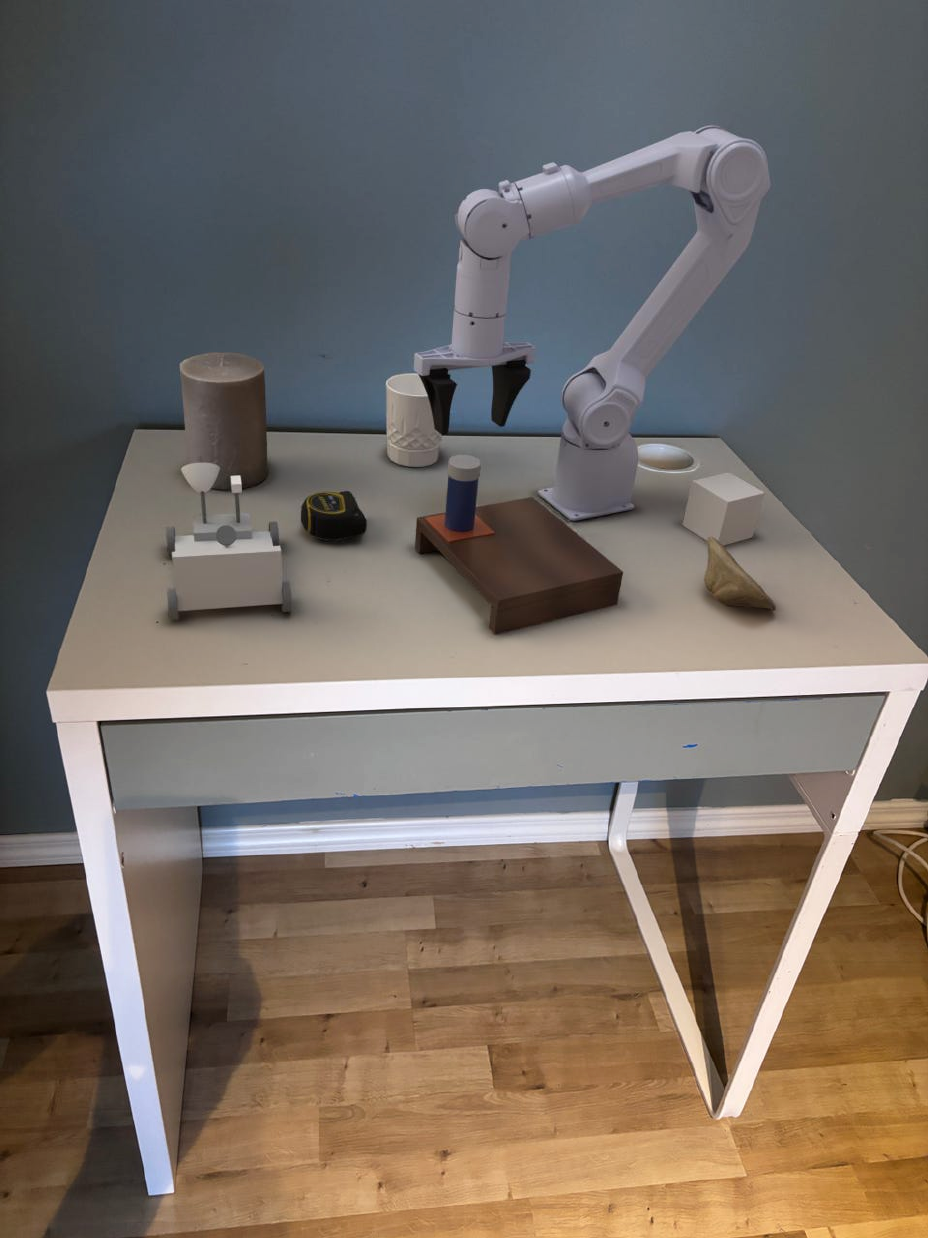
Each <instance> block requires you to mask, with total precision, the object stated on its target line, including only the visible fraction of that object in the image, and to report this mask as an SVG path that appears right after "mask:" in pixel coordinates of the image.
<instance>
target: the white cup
mask: <svg viewBox="0 0 928 1238" xmlns="http://www.w3.org/2000/svg"><path fill="white" fill-rule="evenodd" d="M385 423H386V438H387V441H386V443H387V444H386V445H387V448H386V451H387V454H386V455H387V457H388V458H389V460H390V461H391V462H393V463H394V464H396V465H399V466H403V467H409V468H424V467H428V466H431V465H433V464H436V462H438V459H439V456H440V447H441V442H442V440H443V439H442V438H443V435H441V434H440V433H439V432H438V431H436V430H435V429H434V422H433V415H432V410H431V406H430V402H429V399H428V396H427V393H426V390H425V388H424V385H423V383H422V381H421V379H420V377H419V375H418V373H401V374H395V375H393V376H391V377H389V378H388V379H386V381H385Z"/></svg>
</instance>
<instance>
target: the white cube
mask: <svg viewBox="0 0 928 1238" xmlns="http://www.w3.org/2000/svg"><path fill="white" fill-rule="evenodd" d="M765 494H766V493H765V492H764V491H762V490H761V489H759V488H757V487H755V486H753V485H752V484H750V483H748V482H747V481H745V480H743V479H742V478H740V477H737V476H736V475H734V474H733V473H731V472H729V471H728V472H723V473H720V474H715V475H711V476H706V477H701V478H697V479H694V480H692V481H691V486H690V490H689V494H688V499H687V503H686V507H685V512H684V516H683V520H682V526H683V527H685V528H686V529H688V530H689V531H691V532H692V533H693V534H695V535H697V536H699V537H700V538H701V539H703V540H705V541H706V542H707V539H708V537H710V536H711V537H714V538H715V539H716V540H718V541H719V543H721V544H722V545H723V546H727V545H730V544H734V543H737V542H740V541H745V540H748V539H751V538H753V536H754V533H755V529H756V527H757V524H758V523H757V522H758V518H759V515H760V512H761V508H762V505H763V501H764V497H765Z"/></svg>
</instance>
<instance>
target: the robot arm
mask: <svg viewBox="0 0 928 1238" xmlns="http://www.w3.org/2000/svg"><path fill="white" fill-rule="evenodd" d="M542 171H543V172H540V173H537V174H534V175H531V176H528V177H526V178H523V179H520V180H517V181H514V182H510V181H509V180H508V179H505V180H502V181H500V182H498V188H499V189H498V191H496V190H494V189H489V188H481V189H477V190H474V191H472V192H471V193H469V194H467V196H466V198H465V199H463V200H462V202H461V203H460V205H459V208H458V212H457V213H456V214H455V216H454V220H455V221H454V222H455V226H456V229H457V231H458V233H459V235H460V236H461V238H462V239H460V243H459V250H458V263H457V265H456V276H455V277H456V278H455V291H454V305H453V317H452V318H453V319H452V331H451V343H450V344H448V345H443V346H441V347H440V346H439V347H437V348H433V349H430V350H426V351H420V352H415V353H414V354H413V355H414V356H413V371H415V372H416V374H418V375H419V377H420V379H421V381H422V383H423V385H424V388H425V390H426V393H427V396H428V399H429V402H430V406H431V410H432V415H433V422H434V429H435V430H436V431H438V432H439V433H440V434H441V435H442V436H444V435H445V436H446V435H448V433H449V428H450V420H451V419H450V417H451V407H452V403H453V399H454V394H455V391H456V388H457V386H458V383H457V382H455V381H454V380H453V379H452V378H451V373H450V374H449V372H450V371H457V370H465V369H466V370H468V369H477V368H484V367H491V370H492V371H491V373H492V398H491V399H492V400H491V411H490V415H491V417H490V418H491V422H493V423H494V424H495V425H497V426H498V427H499V428H503V427H505V426H506V423H507V420H508V417H509V415H510V412H511V410H512V407H513V405H514V404H515V401H516V399H517V397H518V396H519V394H520V392H521V390H522V389H523V388H524V386H525V385H526V384H527V382H529V380H530V378H531V373H532V370H531V368H530V367H528V366H526V365H533V364H534V363H535V358H536V352H537V351H536V350H537V347H536V346H534V345H532V344H531V343H529V342H527V341H524V342H523V341H522V342H520V341H519V342H508V341H504V339H505V330H506V329H505V327H506V318H507V307H508V297H509V289H510V278H511V269H510V268H511V258H512V257H511V256H512V252H513V251H514V250H515V249H516V248H517V246H518V245H519V242H521V241H523V242H526V241H528V240H531V239H535V238H536V237H537V238H538V237H540V236H542V235H546V234H548V233H551V232H555V231H558V230H560V229H563V228H566V227H569V226H572V225H575V224H577V223H581V221H583V220H584V217H585V216H586V214H587V212H588V210H589V209H590V207H591V206H592V205H596V204H600V203H603V202H606V201H609V200H610V201H611V200H613V199H616V198H619V197H623V196H627V195H630V194H634V193H637V192H641V191H644V190H647V189H651V188H654V187H657V186H658V187H659V186H662V185H669V186H671V187H675V188H679V189H682V190H687V191H688V192H689V195H690V196H691V198H692V199H693V206H694V207H693V208H694V213H695V214H694V215H695V219H696V221H695V222H696V233H695V234H694V236H693V237H692V238H691V239H690V241H689V242H688V243H687V245H686V246H685V247H684V249H683V250H682V252H681V253H680V254H679V255H678V256H677V258H676V260H675V261H674V262H673V264H672V265H671V267H670V268H669V269H668V271H666V273H665V275H664V276H663V277H662V279H661V280H660V281H659V282H658V284H657V286H656V287H655V288H654V289H653V291H652V292H651V293H650V295H649V296H648V297H647V299H646V300H645V301H644V303H643V304H642V306H641V307H640V308H639V310H638V311H637V312H636V314H635V315H634V316H633V318H632V319H631V320H630V322H629V323H628V324H627V326H626V327H625V328H624V330H623V331H622V333H621V334H620V335H619V337H618V338H617V340H616V341H615V342H614V343H613V345H612V346H611V348H610V349H608V350H607V351H604V352H602V353H599V354H598V355H595V356H594V357H592V359H591V361H589V363H588V364H587V365H586V366H585V367H584V368H583V369H582V370H580V371H578V372H576V373H574V374H573V375H572V376H570V377H569V378H568V379H567V381H566V382H565V384H564V385H563V387H562V391H561V395H560V396H561V397H560V398H561V405H562V407H563V409H564V411H565V412H566V414H567V418H566V420H565V422H564V424H563V426H562V427H561V434H560V441H559V448H558V453H557V462H556V468H555V474H554V481H553V487H548V488H542V489H539V490H538V493H537V494H538V495H539V496H540V497H542V498H543V499H544V500H545V501H546V502H547V503H549V504H550V505H551V506H552V507H553V508H555V509H556V510H557V511H559V512H560V513H561V514H562V515H563V516H565V518H567V519H568V520H570V521H571V522H572V521H573V522H575V521H580V520H585V519H591V518H595V517H601V516H606V515H610V514H612V515H613V514H616V513H621V512H626V511H632V510H634V508H635V505H634V504H633V503H632V502H631V501H632V496H633V490H634V485H635V481H636V476H637V470H638V466H639V465H638V464H639V450H638V446H637V443H636V441H635V439H634V437H633V436H632V435H631V434H630V433H629V432H630V431H631V429H632V425H633V421H634V417H635V414H636V412H637V411H638V410H639V408H640V407H641V406H642V404H643V402H644V395H645V387H646V382H647V378H648V377H649V376H650V375H651V373H652V372H653V371H654V369H655V368H656V367H657V365H658V364H659V363H660V362H661V360H662V359H663V358H664V356H665V355H666V354H667V353H668V351H669V350H670V349H671V347H672V346H673V344H674V343H675V342H676V341H677V340H678V338H680V335H681V334H682V333H683V332H684V331H685V329H686V327H687V326H688V325H689V324H690V323H691V321H692V320H693V319H694V317H695V316H696V315H697V313H698V312H699V311H700V310H701V308H702V307H703V305H705V303H706V302H707V300H708V299H709V298H710V296H711V295H712V294H713V292H714V291H715V290H716V289H717V287H718V286H719V285H720V283H721V282H722V280H723V279H724V278H726V276H727V274H728V273H729V271H730V270H732V268H733V267H734V265H735V264H736V263H737V261H739V259H740V258H741V256H742V255H743V254H744V252H745V251H746V250H747V248H748V246H749V245H750V243H751V239H752V236H753V232H754V229H755V224H756V220H757V217H758V213H759V209H760V205H761V201H762V199H763V197H764V196H765V195H766V193H767V192H768V191H769V189H770V188H771V180H770V172H769V165H768V159H767V155H766V153H765V151H764V148H762V147H761V145H760V144H759V143H758V142H757V141H754V140H752V139H751V138H745V137H741V136H739V135H735V134H733V133H731V132H729V131H728V130H727V129H725V128H723V127H721V126H719V125H706V126H702V127H700V128H698V129H696V130H695V131H691V130H689V131H681V132H678V133H676V134H674V135H672V136H670V137H667V138H664V139H663V140H660V141H658V142H655V143H653V144H649V145H647V146H645V147H643V148H640V149H637V150H635V151H633V152H630V153H628V154H625V155H622V156H620V157H617V158H615V159H613V160H610V161H608V162H605V163H601V164H599V165H597V166H594V167H592V168H590V169H587V170H584V171H582V172H581V171H579V170H577V169H575V168H574V167H572V166H570V165H568V164H564V165H563V164H562V165H561V166H558V164H556V163H555V161H554V162H549V163H546V164H543V165H542Z"/></svg>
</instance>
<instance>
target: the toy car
mask: <svg viewBox="0 0 928 1238" xmlns="http://www.w3.org/2000/svg"><path fill="white" fill-rule="evenodd" d="M219 470H220V467H219V466H218V465H215V464H212V463H202V456H198V463H192V464H188V463H187V464H185V465H183V466H182V467H181V468H180V471H181V473H182V475H183V477H184V479H185V480H186V481H187V483H188V484H189V486H190V487H191V488H192V489H193V490H194V491H195V492H197V493H198V494H200V504H201V505H200V506H201V514H195V515H192V525H193V535H190V534H189V535H176V529H175V526H167V527H166V528H165V535H166V536H165V538H166V547H167V555H168V556H171V558H172V568H173V570H172V571H173V578H174V579H173V580H174V588H167V590H166V591H167V592H166V595H167V597H166V598H167V609H168V610H167V611H168V619H169V620H170V621H175V620H179V619H180V612H182V611H197V610H200V611H201V610H212V609H227V608H242V607H243V608H244V607H254V606H266V605H267V606H268V605H270V606H271V605H280V606H281V610H282V613H283V612H284V613H285V612H286V613H287V612H291V611H292V608H293V604H292V603H293V602H292V601H293V600H292V589H291V584H290V583H291V582H290V581H288V580H284V581H283V565H282V563H283V562H282V548H281V545H280V535H279V534H280V533H279V525H278V522H277V521H269V522H268V530H267V531H265V530H264V531H253V528H252V522H251V516H250V512H240V510H241V509H240V494H242V493H243V488H242V484H241V477H240V476H237V475H234V476H231V488H232V489H231V493H232V494H234V503H235V504H234V506H235V513H216V514H215V513H214V514H207V508H206V495H205V494H206V493H207V492H209V491H210V490H211V489H212V488H211V487H212V486H213V484H214V482H215V480H216V478H217V476H218V473H219Z"/></svg>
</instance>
